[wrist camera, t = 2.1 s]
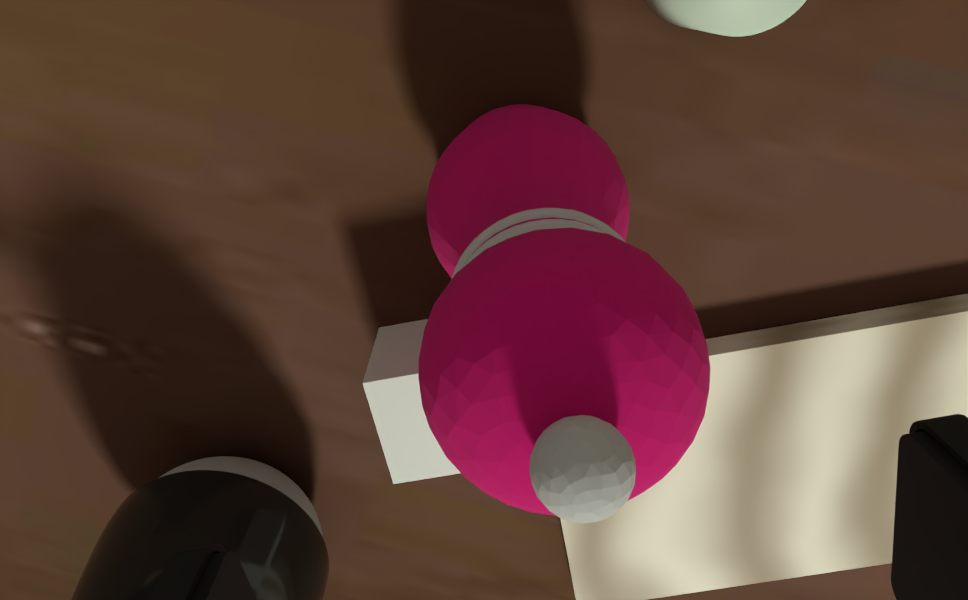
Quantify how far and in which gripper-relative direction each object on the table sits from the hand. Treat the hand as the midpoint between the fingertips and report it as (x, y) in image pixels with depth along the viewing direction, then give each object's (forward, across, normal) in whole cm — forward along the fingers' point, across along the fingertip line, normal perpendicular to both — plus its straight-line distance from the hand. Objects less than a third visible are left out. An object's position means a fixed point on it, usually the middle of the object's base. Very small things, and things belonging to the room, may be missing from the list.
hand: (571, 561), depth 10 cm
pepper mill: (+21, -1, 0) cm, 21 cm away
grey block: (+21, +4, +8) cm, 23 cm away
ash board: (+21, -10, +16) cm, 28 cm away
